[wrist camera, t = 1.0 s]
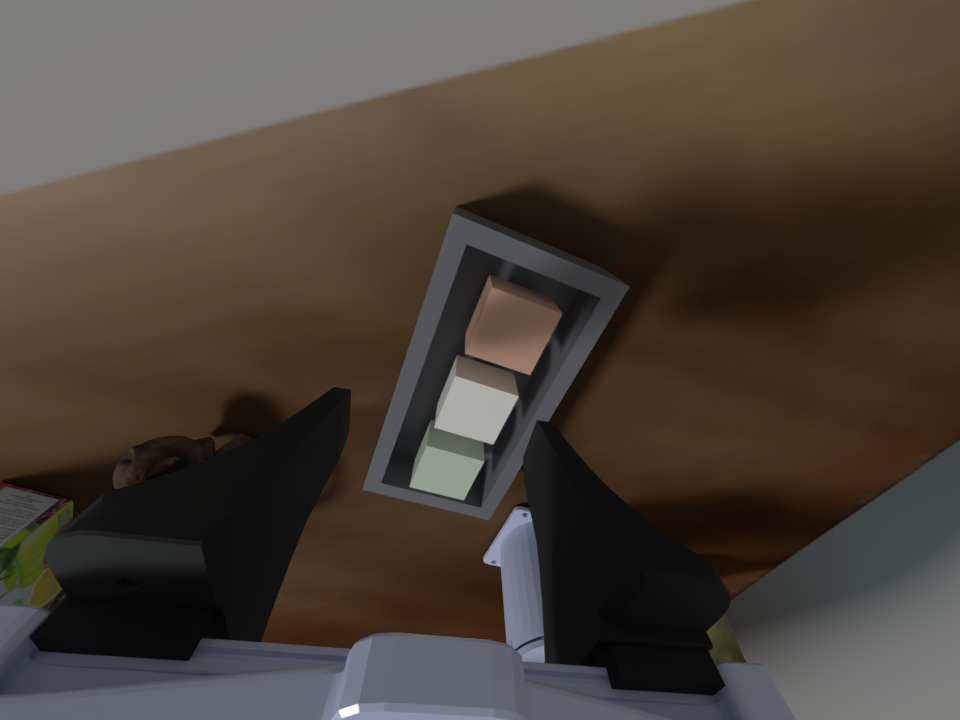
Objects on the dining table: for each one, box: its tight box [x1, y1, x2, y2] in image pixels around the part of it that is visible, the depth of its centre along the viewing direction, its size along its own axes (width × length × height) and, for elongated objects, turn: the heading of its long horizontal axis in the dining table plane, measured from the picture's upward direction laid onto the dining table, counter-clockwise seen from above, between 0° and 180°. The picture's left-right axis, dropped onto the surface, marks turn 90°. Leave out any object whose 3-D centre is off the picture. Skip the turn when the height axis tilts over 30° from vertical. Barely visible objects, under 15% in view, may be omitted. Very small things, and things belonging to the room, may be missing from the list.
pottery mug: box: [113, 433, 254, 489], centre depth 25 cm, size 12×9×8 cm
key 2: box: [465, 274, 562, 375], centre depth 18 cm, size 4×4×2 cm
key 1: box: [410, 420, 484, 500], centre depth 22 cm, size 4×4×2 cm
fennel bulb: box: [707, 614, 746, 664], centre depth 29 cm, size 6×5×12 cm
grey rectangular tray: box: [362, 206, 630, 520], centre depth 21 cm, size 9×18×4 cm, turn 159°
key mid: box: [434, 355, 519, 444], centre depth 20 cm, size 4×4×2 cm
